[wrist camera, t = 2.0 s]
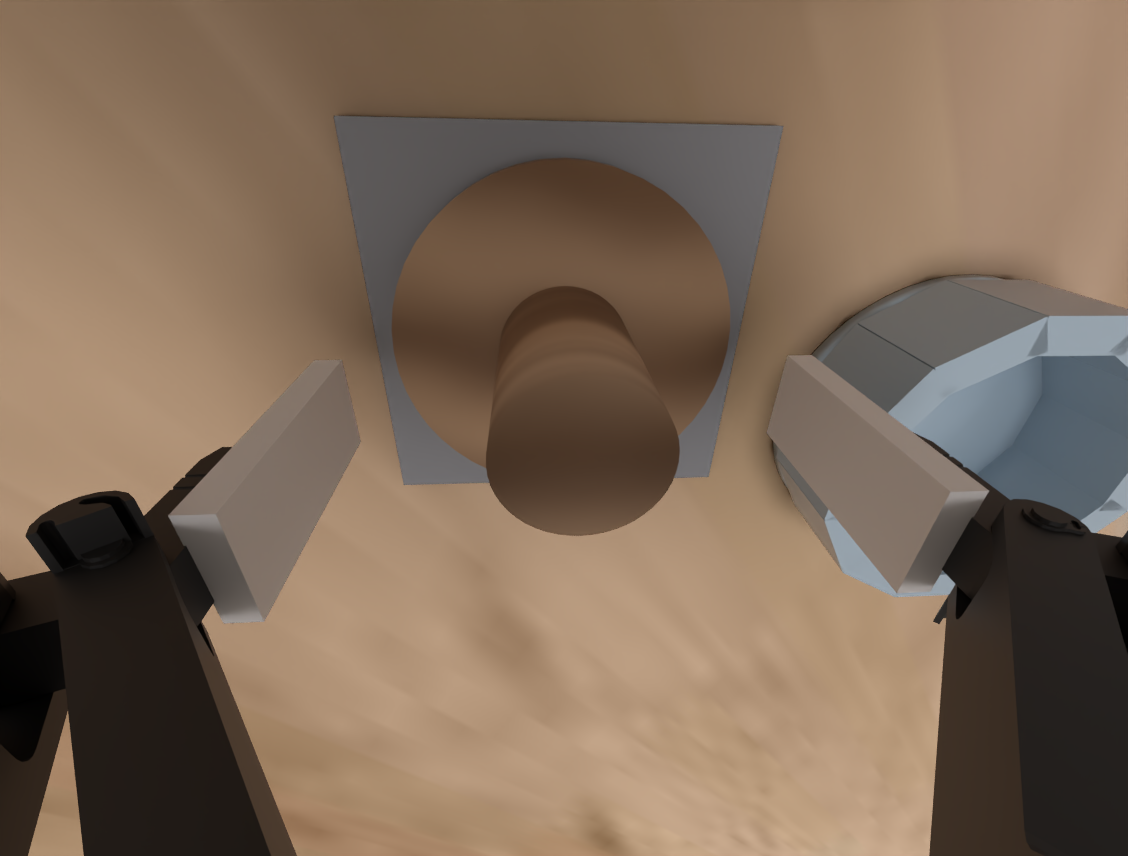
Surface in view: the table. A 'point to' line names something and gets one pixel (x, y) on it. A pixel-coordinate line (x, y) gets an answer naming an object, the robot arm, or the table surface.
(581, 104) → the table surface
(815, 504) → the bowl
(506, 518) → the table surface
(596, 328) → the lid
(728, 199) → the mat
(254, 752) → the robot arm
